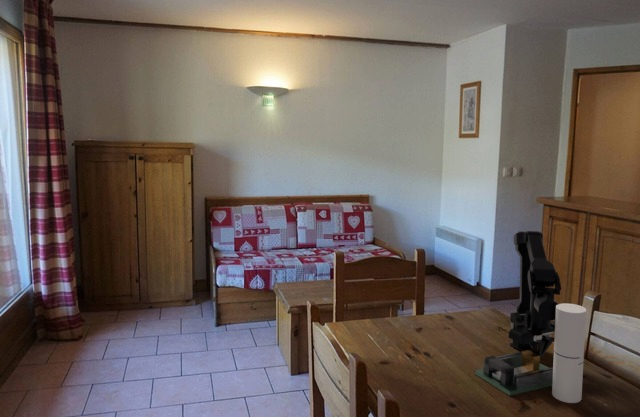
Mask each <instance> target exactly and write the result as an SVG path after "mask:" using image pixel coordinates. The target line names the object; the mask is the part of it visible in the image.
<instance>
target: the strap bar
mask: <svg viewBox="0 0 640 417" xmlns="http://www.w3.org/2000/svg"><path fill="white" fill-rule="evenodd" d="M521 352H522V365H521V366H522V367H518V368H514V376H515V375H519V374H524V373H528V372H533V371H537V370H539V365H540V361H541V359H540V356H539V355H537V354H535V353H533V351H532V350H530V351H529V350H527V351H521ZM492 376H493V377H494V378H496V379H498V380H499V381H501V372H500V371H499V372H494V373H492Z"/></svg>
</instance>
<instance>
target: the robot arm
mask: <svg viewBox="0 0 640 417" xmlns="http://www.w3.org/2000/svg"><path fill="white" fill-rule="evenodd" d="M513 245H514V247H515V252H516V253H517V254H518V256H519V301H518V302H517V304H515V307H514V312H511V313H510V318H509V321H510V324H509V325H510V329H509V330H508V338H509V339H510V340H512V342H511V343H509V345H510V346H512V347H513V348H515V349H517V350H520V352H522V351H527V350H530V351H532V352H533V353H535V354H537V355H539V356H540V360H542V357H543V356H544V355H545V353H546V352H547V351H548V349H549V348H550V346H551V345H552V344H553V343H554V339H555V337H552V334H553V333H554V334H555V316H556V305H558V304H559V303H558V302H557V301H556V300H555V295H560V296H561V291H562V285H561V279H560V275H559V274H558V273H559V272H558V271H556V268H555V266H554V264H553V263H552V262H550V261H549V260H548V258H547V255H546V251H545V248H544V233H542V232H541V231H537V230H535V231H534V230H526V231H519V230H518V231H517V232H516V233H514V235H513Z"/></svg>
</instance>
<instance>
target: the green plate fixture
mask: <svg viewBox="0 0 640 417" xmlns="http://www.w3.org/2000/svg"><path fill="white" fill-rule="evenodd" d="M529 351H531V350H529ZM521 365H522V351H518V352H513V353H509V354H503V355H500V356H494V355H492V356H486V357H484V359H483V367H482V368H480V369H475V371H474V374H475V375H476V376H477V377H479V378H480V379H483V380H484V381H485V382H487V383H489V384H490V385H492V386H493V387H495V388H496V389H498V390H500V391H501V392H502V393H504V394H506V395H507V396H515V395H520V394H524V393H528V392H532V391H536V390H540V389H544V388H548V387H552V383H553V366H551V367H549V366H546V365H545V364H542V363H540V365H539V370H537V371H533V372H528V373H524V374H519V375H515V376H514V368H518V367H522V366H521ZM499 371H500V372H501V381H499V380H498V379H496V378H494V377H493V376H492V373H494V372H499Z"/></svg>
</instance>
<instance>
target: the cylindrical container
mask: <svg viewBox="0 0 640 417" xmlns="http://www.w3.org/2000/svg"><path fill="white" fill-rule="evenodd" d="M586 320H587V308H585V306H582V305H579V304H575V303H562V302H561V303H558V305H556V316H555V320H554V321H555V332H554V338H555V339H554V341H553V343H554V344H553V360H552V361H553V364H552V365H553V366H552V367H553V383H552V386H551V388H552V390H551V394H552V396H553V397H554V398H555V399H556V400H558V401H560V402H563V403H568V404H577V403H580V402H581V400H582V398H583V397H582V396H583V395H582V393H583V376H584V373H583V372H584V358H585V340H586V339H585V338H586V326H587V325H586V322H587V321H586Z"/></svg>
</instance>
